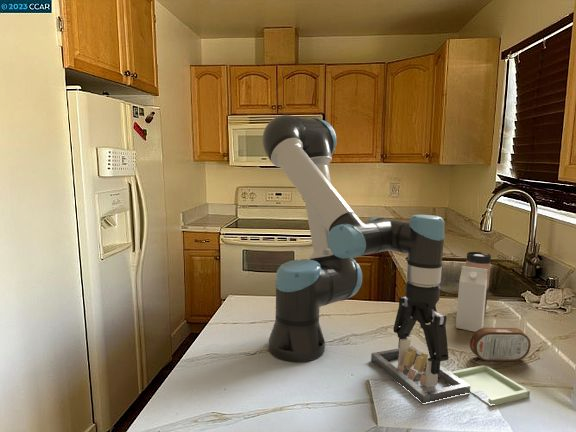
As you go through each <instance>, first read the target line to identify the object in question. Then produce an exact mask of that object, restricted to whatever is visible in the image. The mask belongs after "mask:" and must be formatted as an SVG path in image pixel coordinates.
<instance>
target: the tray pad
mask: <svg viewBox="0 0 576 432" xmlns="http://www.w3.org/2000/svg"><path fill="white" fill-rule="evenodd" d="M450 372H451V373H453V374H454V375H456V376H457V377H458V378H460V379H461V380H463V381H464V382H466V383H467V384H469V385H470V390H471V391H474V392H475V390H476V391H478V390H482V391H484V393H486V394H487V395H488V396H489V397H490V398H489V399H488V402H489V403H490V404H495V406H499V405H502V404H507V403H511V402H514V401H518V400H523V399H527V398H530V395H531V390H530V389H528V388H526V387H524V386H522V385H521V384H519V383H517V382H516V381H514V380H512V379H511V378H509V377H507V376H505V375H504V374H501V373H500V372H499V371H497V370H495V369H493V368H491V367H490V366H488V365H487V364H482V365H477V366H473V367H468V368H463V369H458V370H453V371H450Z"/></svg>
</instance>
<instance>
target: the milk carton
mask: <svg viewBox="0 0 576 432" xmlns="http://www.w3.org/2000/svg"><path fill="white" fill-rule="evenodd" d="M458 282H459V285H458V295H457V296H458V297H457V305H456V307H457V309H456V319H455V328H456V329H461V330H464V331H470V332H473V333H475V332H476V331H477V330H479V329H481V328H484V327H483V326H484V322H485V321H484V319H485V313H484V311H485V300H486V289H487V269H481V268H473V267H466V265H461V273H460V276H459V281H458Z"/></svg>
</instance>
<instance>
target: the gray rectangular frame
mask: <svg viewBox="0 0 576 432" xmlns="http://www.w3.org/2000/svg"><path fill="white" fill-rule="evenodd" d="M410 348H412V349H415V350H417V351H416V352H417V353H416V356H415V360H416V357H417V356H421V354H422V353H421V352H422V351H420V350H419V349H417V348H416V347H414V346H413V345H412V346H411V345H410ZM370 356H371V357H370V360H371V362H372V363H373V364H374V365H376V366H377V367H378V368H379V369H380V370H381V371H383V372H384V373H385V374H386V375H388V377H390V378H391V379H392V380H393V381H395V383H397V382H398V383H400V384H401V385H402V386H404V387H405V388H406V389H407V390H409V391H410V392H411V393H412V394H413V395H414V396H415V397H417V398H418V399H419V400H420V401H421V402H422V403H426V402H430V401H435V400H439V399H443V398H447V397H451V396H455V395H460V394H465V393H469V392H470V385H469V384H467V383H466V382H464V381H463V380H461V379H460V378H458V377H457V376H456V375H454V374H453V373H451V372H452V371H450V370H448V369H447V368H445V367H444V366H442V365H441V364H440V372H439V374H438V378H439V379H440V380H442V381H444V382H445V383H446V384H448V385H449V384H450V385H449V386H446V387H441V388H437V389H433V390H432V389H431V390H429V391H426V390H425V389H424V388H422V386H421V387H420V386H419V384H417V383H416V382H414V381H413V380H411V379H409V378H408V375H406V374H404V372H403V373H402V372H401V371H399V370H398V369H397V367H396V366H395V365H394V364H392V363H390V362H389V361H390V360H396V359H397V360H398V358H399V348H395V349H389V350H381V351H376V352H371V354H370ZM428 358H430V356H428ZM415 360H414V361H415ZM426 366H427V362H426V365H425V368H426ZM398 383H397V384H398ZM451 385H452V386H451ZM402 386H401V387H402ZM470 393H471V392H470Z"/></svg>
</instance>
